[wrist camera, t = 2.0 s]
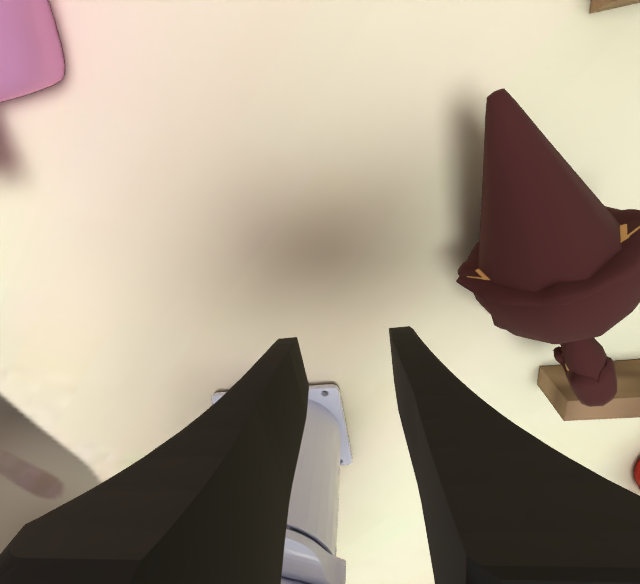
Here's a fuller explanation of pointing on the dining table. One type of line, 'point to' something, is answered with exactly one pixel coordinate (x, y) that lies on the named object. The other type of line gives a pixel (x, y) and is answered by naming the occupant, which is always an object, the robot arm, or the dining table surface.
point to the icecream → (551, 251)
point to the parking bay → (632, 375)
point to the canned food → (637, 473)
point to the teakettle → (28, 48)
